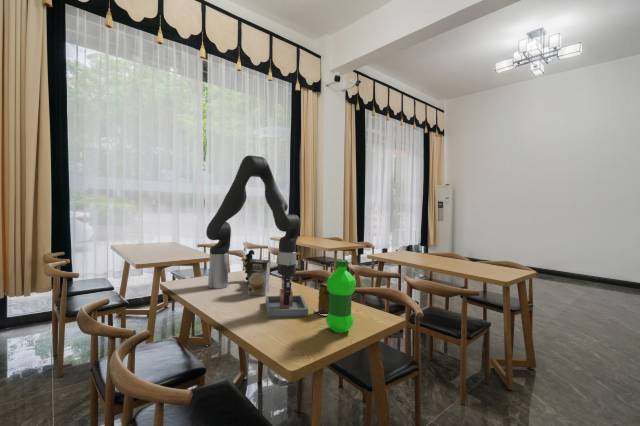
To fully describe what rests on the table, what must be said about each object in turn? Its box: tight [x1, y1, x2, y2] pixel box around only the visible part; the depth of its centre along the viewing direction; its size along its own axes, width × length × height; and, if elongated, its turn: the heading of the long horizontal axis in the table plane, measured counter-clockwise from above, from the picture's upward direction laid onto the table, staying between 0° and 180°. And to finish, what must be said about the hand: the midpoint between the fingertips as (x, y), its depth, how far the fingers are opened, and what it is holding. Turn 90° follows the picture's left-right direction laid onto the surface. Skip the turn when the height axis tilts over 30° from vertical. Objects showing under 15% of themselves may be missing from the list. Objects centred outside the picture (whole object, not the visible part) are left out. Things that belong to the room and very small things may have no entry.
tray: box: [265, 294, 309, 319], centre depth 129 cm, size 16×18×3 cm
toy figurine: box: [244, 249, 270, 284], centre depth 163 cm, size 9×19×25 cm
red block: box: [278, 288, 294, 307], centre depth 129 cm, size 5×5×6 cm
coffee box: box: [247, 258, 271, 297], centre depth 149 cm, size 9×6×16 cm
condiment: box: [313, 281, 330, 318], centre depth 126 cm, size 7×8×12 cm
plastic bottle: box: [325, 259, 357, 333], centre depth 110 cm, size 10×10×25 cm
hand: (285, 302), depth 129 cm, fingers closed on red block, 5 cm apart
